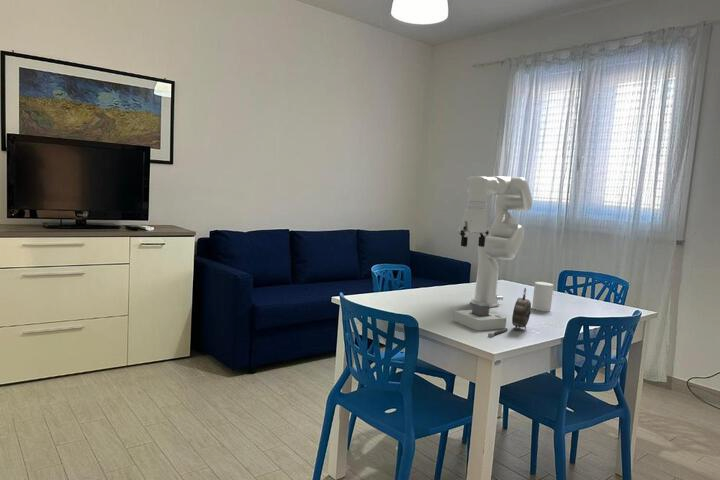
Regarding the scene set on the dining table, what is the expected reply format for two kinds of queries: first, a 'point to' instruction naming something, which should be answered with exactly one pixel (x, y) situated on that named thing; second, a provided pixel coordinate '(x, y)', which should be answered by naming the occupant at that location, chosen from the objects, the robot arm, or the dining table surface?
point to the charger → (480, 309)
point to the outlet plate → (479, 320)
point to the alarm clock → (521, 312)
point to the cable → (496, 332)
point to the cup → (542, 296)
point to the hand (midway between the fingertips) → (472, 246)
